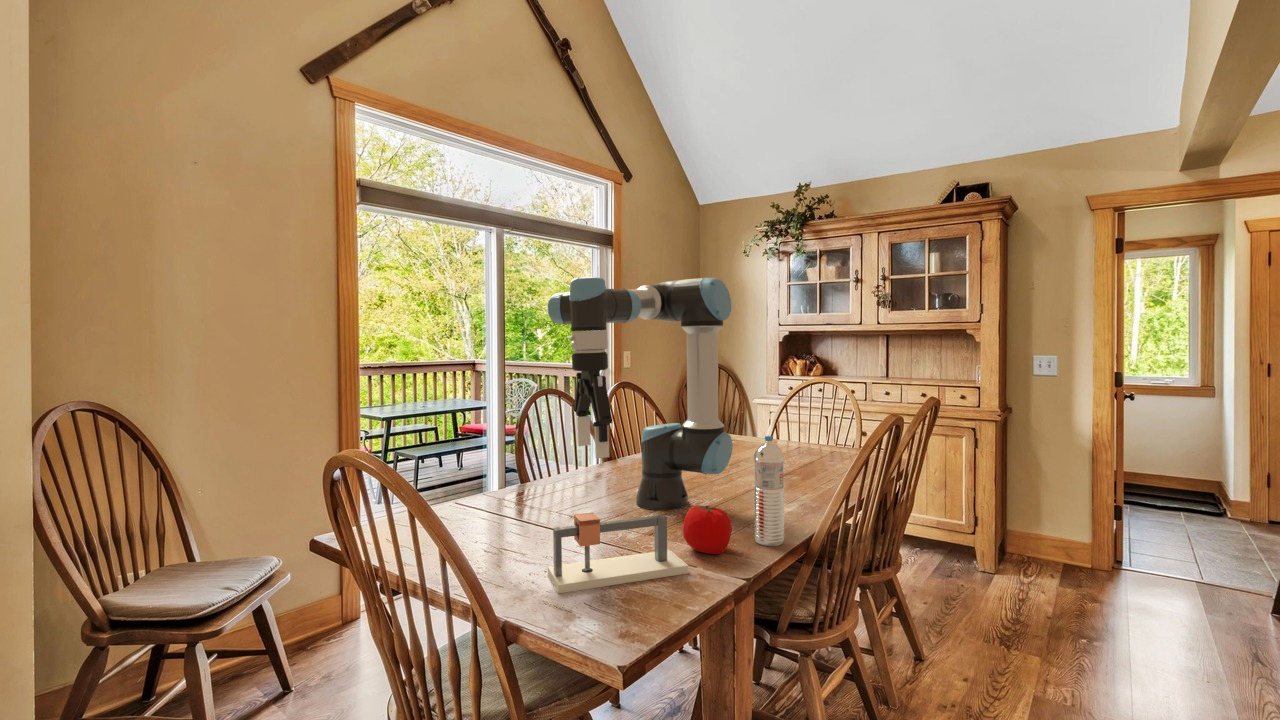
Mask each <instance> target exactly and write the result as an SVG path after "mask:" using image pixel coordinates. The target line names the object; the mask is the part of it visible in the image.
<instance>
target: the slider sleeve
mask: <svg viewBox="0 0 1280 720" xmlns="http://www.w3.org/2000/svg"><path fill="white" fill-rule="evenodd" d="M600 522H601V519H600V518H599V516H597V515H596V514H595V513H594V512H585V513H577V514H576V513H575V514H574V513H573V523H574V524H573V526H574V525H579V535H578V536H573V538H574V541H575V542H576V543H577V544H578V546H579V547H584V561H585V568H590V561H591V557H590V556H591V555H590V554H591V548H590V547H591V546H595V545H596V546H597V545H601V533H600Z"/></svg>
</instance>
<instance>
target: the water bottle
mask: <svg viewBox="0 0 1280 720" xmlns="http://www.w3.org/2000/svg"><path fill="white" fill-rule="evenodd" d="M764 441H765V442H764V443H763V444H761V445H760V446H759V447H758V448H757V449H756V451H755V452H754V455H753V459H754V488H753V489H754V492H753V493H754V501H753V502H754V541H755V543H757V544H758V545H761V546H763V547H778V546H781V545H783V544H784V540H785V488H784V486H785V485H784V481H785V480H784V479H785V478H784V461H785V455H784V453H783V451H782V450H781V448H780V447H778V445H776V444H775V443H774V436H772V435H765V437H764Z"/></svg>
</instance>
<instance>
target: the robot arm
mask: <svg viewBox="0 0 1280 720" xmlns="http://www.w3.org/2000/svg"><path fill="white" fill-rule="evenodd" d="M730 295H731V293H730V292H729V289H728V287H727V286H726V283H724V282H723V281H722V279H719V278H717V277H701V278H700V277H698V278H688V279H675V280H674V279H673V280H667V281H663V282H658V283H653V284H648V285H646V284H645V285H641V286H640V287H638V288H633V289H626V288H607V286H606V280H605V279H604V278H603V277H598V276H597V277H596V276H591V277H590V276H586V277H585V276H584V277H583V276H582V277H575V278H573V279H571V281H570V283H569V291H562V292H558V293H554V294H553V295H551V296H550V298H549V300H548V303H547V314H548V316H549V318H550V320H551V321H552V322H553V323H554V324H557V325H563V326H565V325H570V326H571V327H570V330H571V331H570V332H571V335H570V336H569V337H568V340H569V342H570V341H571V350H572V351H574V352H573V353H572V354H571V364H572V366H571V367H572V370H573V371H574V372H575V371H576V372H577V373H576V375H575V376H576V385H575V394H574V404H573V411H574V413H575V415H576V416H577V417H576V424H577V425H576V426H577V427H576V429H577V446H578V447H584V446H591V421H590V419H591V415H592V413H593V416H594V420H595V421H594V422H593V423H592V427H593V428H594V446H595V447H594V449H595V450H594V451H595V452H594V453H595V459H603V458H604V459H605V458H610V435H609V434H610V431H609V426H610V424H613V417H612V410H611V405H610V399H609V394H608V389H607V377H606V376H605V375H601V373H600V372H601V371H605V370H607V369H608V367H609V361H608V356H609V354H608V353H607V352H606V350H607V349H608V348H609V347H608V346H609V345H608V344H609V343H608V330H607V329H608V327H607V326H608V325H607V324H613V323H615V324H616V323H620V324H626V323H630V322H633V321H635V320H636V319H638V318H639V319H642V320H645V321H651V320H655V321H656V320H659V321H669V322H680V328H681V329H682V330H683V331H684V332H685V334H686V384H687V385H686V386H687V387H686V389H687V390H686V393H687V396H686V397H687V398H686V399H687V402H686V403H687V419H686V420H685V421H684V422H683V424H681V423H680V422H679V423H677V422H672V423H664V424H663V423H661V424H654V425H649V426H646V427H644V428H643V430H642V432H641V441H640V444H641V480H640V482H639V486H638V490H637V492H636V496H635V497H636V499H635V501H636V505H637V506H639V507H640V508H642V509H643V508H644V509H648V510H655V511H659V510H661V511H663V510H664V511H666V510H668V511H669V510H676V509H681V508H684V507H686V506H687V505H688V504H689V496H688V491H687V489H686V486H685V483H684V480H683V476H682V474H683V472H689V473H690V472H691V473H698V474H703V475H720V474H721V473H723V472H724V471H725V470H726V468H727V467H728V465H729V464H730V461H731V457H732V454H733V447H734V446H733V438H732V437H731V435H730V434H729V433H728V432H726V431H725V424H724V423H723V422H722V421H721V420H720V419H719V354H718V353H719V349H718V347H719V345H718V344H719V343H718V341H719V339H718V337H719V336H718V335H719V334H718V333H719V332H720V331H721V330H722V329H723V328H724V321H726V320H728V319H729V317H730V316H731V311H732V298H731V296H730ZM590 407H591V408H592V411H591V410H590ZM591 412H592V413H591ZM682 471H683V472H682Z"/></svg>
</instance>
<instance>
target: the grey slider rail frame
mask: <svg viewBox="0 0 1280 720" xmlns="http://www.w3.org/2000/svg"><path fill="white" fill-rule="evenodd" d="M649 527H654V552H655V559H656V560H657V561H658V562H661V561H667V550H668V517H667V516H665V515H664V514H659V515H658V514H657V515H656V514H655V515H651V516H643V517H634V518H628V519H627V518H625V519H617V520H610V521H602V522H601V521H600V534H601V533H603V534H604V533H608V532H610V533H611V532H616V531H617V532H618V531H626V530H632V529H633V530H634V529H641V528H643V529H644V528H649ZM552 529H553V530H552V537H553V540H552V541H553V542H552V543H553V548H552V549H553V566H554V575H555V576H556V577H560V576H562V565H563V559H562V558H563V553H562V551H563V550H562V547H563V546H562V538H569V537H574V536H578V535H579V525H574V524H573V525H566V526H565V525H564V526H555V527H552Z"/></svg>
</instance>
